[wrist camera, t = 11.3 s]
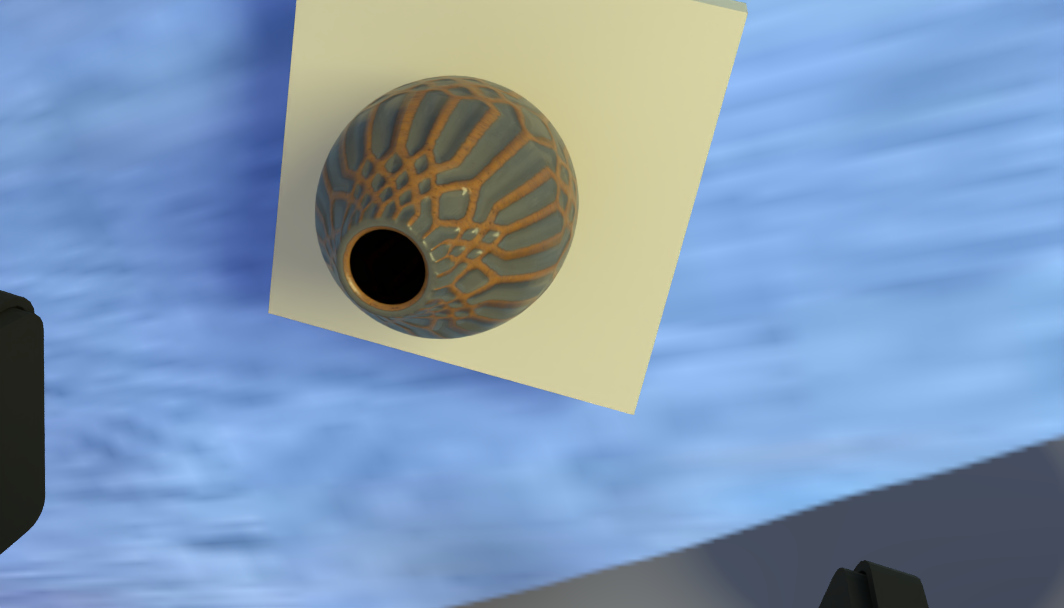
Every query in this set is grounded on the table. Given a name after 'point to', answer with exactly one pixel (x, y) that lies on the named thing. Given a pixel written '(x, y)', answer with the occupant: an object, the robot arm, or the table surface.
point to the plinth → (587, 131)
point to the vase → (446, 207)
